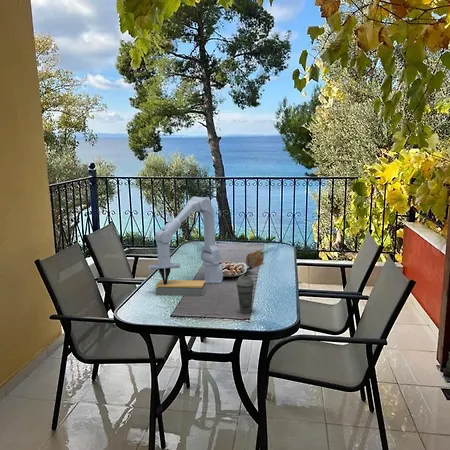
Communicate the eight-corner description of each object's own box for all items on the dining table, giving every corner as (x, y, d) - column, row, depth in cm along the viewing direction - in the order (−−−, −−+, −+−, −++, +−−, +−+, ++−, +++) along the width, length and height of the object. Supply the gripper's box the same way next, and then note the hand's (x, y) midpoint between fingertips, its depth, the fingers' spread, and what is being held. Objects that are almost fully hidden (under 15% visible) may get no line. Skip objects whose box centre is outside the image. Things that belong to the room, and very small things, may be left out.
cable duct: (205, 289, 205) (205, 282, 205) (202, 295, 196) (202, 288, 196) (160, 288, 208) (160, 281, 207) (155, 294, 199) (155, 287, 198)
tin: (249, 269, 237) (249, 254, 235) (245, 268, 238) (244, 254, 237) (264, 263, 248) (264, 249, 247) (259, 262, 250) (259, 248, 249)
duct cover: (205, 282, 205) (205, 280, 205) (202, 287, 196) (202, 286, 196) (160, 281, 207) (160, 279, 207) (155, 287, 198) (155, 285, 198)
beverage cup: (249, 315, 172) (248, 267, 168) (233, 312, 176) (232, 265, 172) (257, 309, 178) (257, 263, 175) (242, 306, 182) (241, 261, 178)
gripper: (179, 252, 203) (180, 280, 206) (148, 254, 201) (149, 282, 203) (180, 256, 196) (181, 284, 199) (148, 258, 194) (149, 286, 197)
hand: (165, 283), depth 201 cm, fingers closed, pressing on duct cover
